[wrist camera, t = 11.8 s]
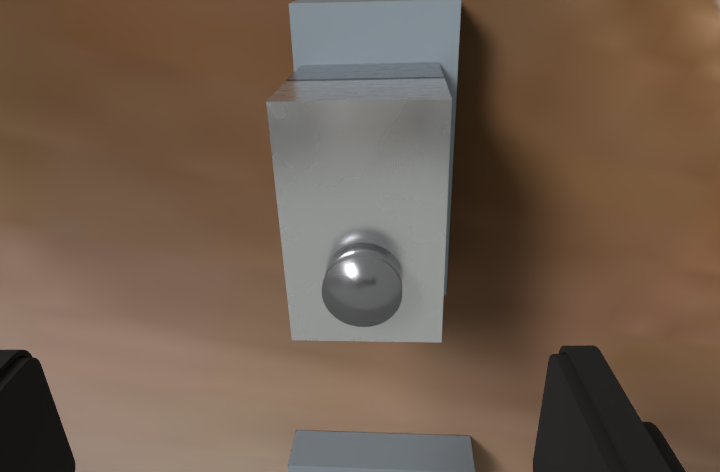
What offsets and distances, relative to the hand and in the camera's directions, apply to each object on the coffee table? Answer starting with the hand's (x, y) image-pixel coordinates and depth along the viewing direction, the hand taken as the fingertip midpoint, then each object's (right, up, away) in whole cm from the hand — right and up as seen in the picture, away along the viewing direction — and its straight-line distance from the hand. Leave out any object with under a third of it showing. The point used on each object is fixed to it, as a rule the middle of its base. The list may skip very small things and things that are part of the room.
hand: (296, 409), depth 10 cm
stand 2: (+3, -11, +23) cm, 25 cm away
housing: (+2, +6, +12) cm, 13 cm away
